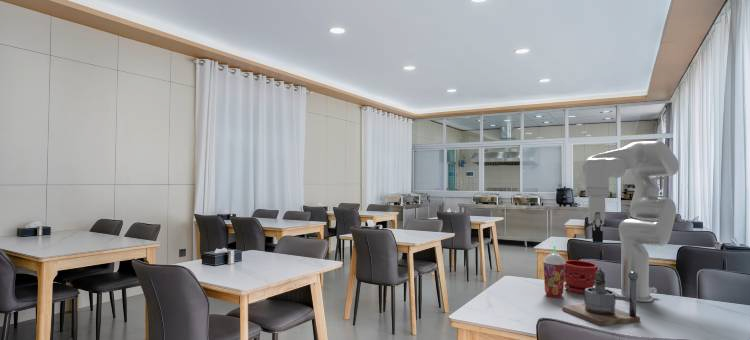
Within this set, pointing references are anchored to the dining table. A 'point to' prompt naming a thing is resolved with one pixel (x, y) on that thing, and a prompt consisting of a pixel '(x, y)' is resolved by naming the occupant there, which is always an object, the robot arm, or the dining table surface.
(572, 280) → the plant pot
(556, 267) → the smoothie
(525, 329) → the dining table surface
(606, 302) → the cup bracket
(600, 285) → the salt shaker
